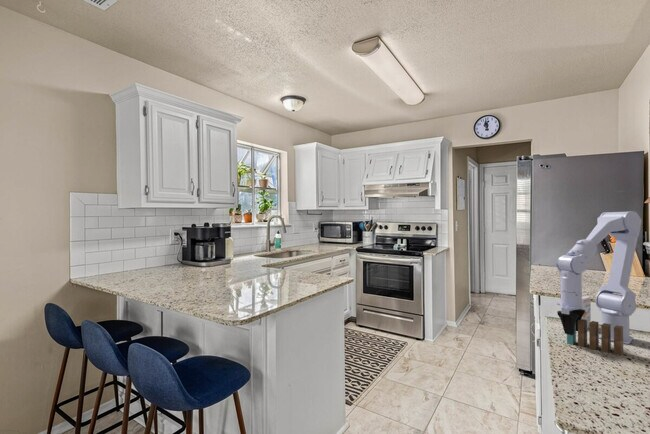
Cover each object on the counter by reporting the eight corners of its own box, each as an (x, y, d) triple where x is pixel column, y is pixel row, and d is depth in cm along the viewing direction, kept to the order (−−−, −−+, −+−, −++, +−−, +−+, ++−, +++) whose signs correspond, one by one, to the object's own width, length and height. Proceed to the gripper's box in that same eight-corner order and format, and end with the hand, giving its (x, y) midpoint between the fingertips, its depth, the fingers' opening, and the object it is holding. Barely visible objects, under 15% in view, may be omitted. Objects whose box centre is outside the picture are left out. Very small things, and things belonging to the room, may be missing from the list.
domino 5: (614, 354, 103) (613, 327, 103) (616, 350, 106) (616, 325, 106) (621, 355, 102) (620, 328, 102) (623, 352, 104) (623, 326, 105)
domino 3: (589, 348, 108) (589, 323, 108) (592, 345, 110) (592, 320, 110) (595, 349, 106) (595, 324, 107) (598, 346, 109) (598, 322, 109)
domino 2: (578, 345, 110) (577, 321, 110) (581, 343, 112) (581, 318, 113) (584, 347, 109) (583, 322, 109) (587, 344, 111) (587, 319, 111)
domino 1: (567, 343, 112) (566, 319, 112) (570, 340, 115) (570, 317, 115) (572, 344, 111) (572, 320, 111) (575, 341, 114) (575, 318, 114)
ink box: (582, 330, 126) (581, 290, 127) (566, 326, 131) (566, 288, 131) (591, 326, 131) (591, 288, 131) (576, 323, 135) (575, 286, 136)
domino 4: (601, 351, 105) (601, 325, 105) (604, 348, 108) (604, 322, 108) (608, 352, 104) (607, 326, 104) (610, 349, 107) (610, 324, 107)
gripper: (563, 287, 121) (563, 325, 121) (550, 292, 112) (550, 333, 111) (587, 290, 116) (588, 330, 115) (576, 295, 106) (576, 339, 106)
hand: (571, 332), depth 113 cm, fingers open, 6 cm apart
